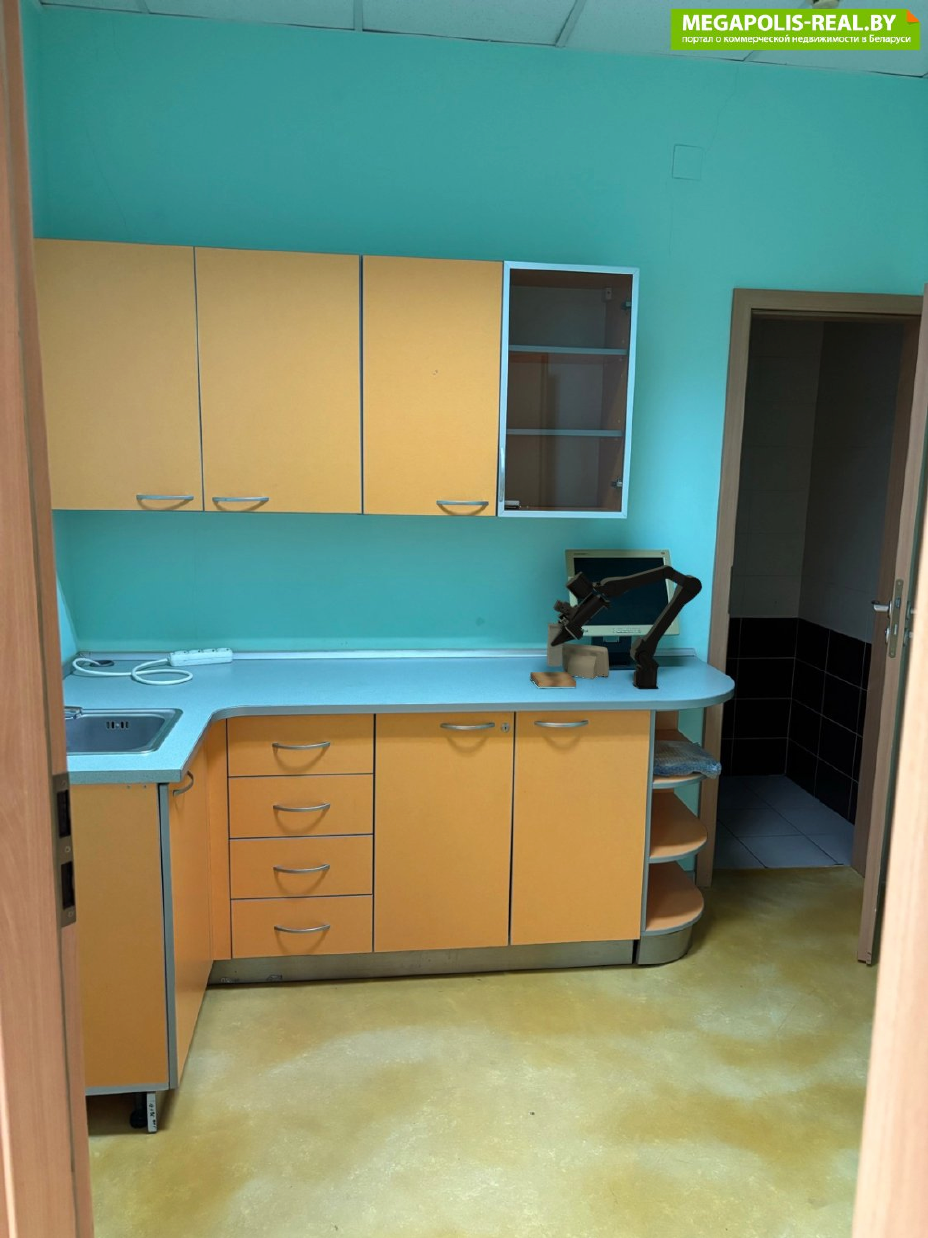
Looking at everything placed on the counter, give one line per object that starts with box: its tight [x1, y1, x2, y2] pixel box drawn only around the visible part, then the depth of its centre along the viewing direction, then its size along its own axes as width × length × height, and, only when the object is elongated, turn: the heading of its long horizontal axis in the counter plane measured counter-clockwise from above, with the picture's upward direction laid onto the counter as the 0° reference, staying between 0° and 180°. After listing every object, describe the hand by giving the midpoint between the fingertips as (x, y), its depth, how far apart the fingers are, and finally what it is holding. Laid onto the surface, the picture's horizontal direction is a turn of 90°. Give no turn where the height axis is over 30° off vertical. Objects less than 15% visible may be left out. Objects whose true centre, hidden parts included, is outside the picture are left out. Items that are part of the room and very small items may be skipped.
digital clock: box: [562, 642, 610, 680], centre depth 308 cm, size 16×9×11 cm, turn 52°
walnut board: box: [529, 671, 577, 688], centre depth 297 cm, size 12×12×2 cm
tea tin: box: [546, 622, 563, 667], centre depth 293 cm, size 4×5×13 cm
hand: (550, 643), depth 293 cm, fingers closed on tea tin, 5 cm apart
